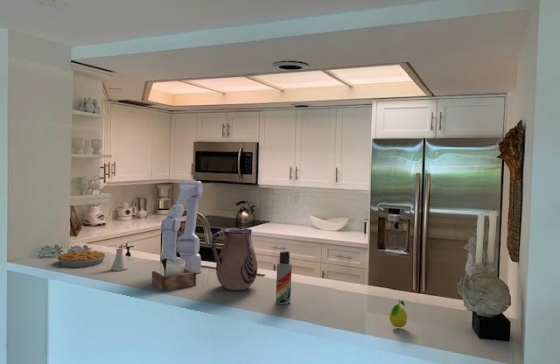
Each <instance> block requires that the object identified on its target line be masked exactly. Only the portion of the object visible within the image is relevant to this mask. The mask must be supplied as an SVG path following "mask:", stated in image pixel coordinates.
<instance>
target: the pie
mask: <svg viewBox="0 0 560 364" xmlns="http://www.w3.org/2000/svg"><path fill="white" fill-rule="evenodd" d="M105 258H106V254H105V253H104V252H100V251H99V252H98V251H97V250H95V251H91V250H86V251H85V250H81V251H71V252H66V253H63V254H59V255H58V257H57V260H58V261H59V263H60V264H61V266H63V267H71V268H86V267H93V266H98V265H100V264H101V263H103V261H104V259H105Z"/></svg>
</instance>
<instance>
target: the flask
mask: <svg viewBox="0 0 560 364" xmlns="http://www.w3.org/2000/svg"><path fill="white" fill-rule="evenodd" d="M115 251H116V254H115V257H114V258H115V259H114V260H113V263H112V266H111V267H110V270H111V271H115V272H121V271H125V270H128V266H127V264H126V262H125V261H126V260H125V257H124V254H123V251H124V248H116V249H115Z"/></svg>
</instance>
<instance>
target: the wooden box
mask: <svg viewBox="0 0 560 364" xmlns="http://www.w3.org/2000/svg"><path fill="white" fill-rule="evenodd" d="M151 285H152V286H154V287H156V288H157V289H159V290H161V291H169V290H175V289H182V288H187V287H193V286H197V273H196V272H194V271H191V270H189V269H187V268H185V267H184V272H183V274H179V275H172V276H165V275H163V274H162V273H159V272H157V271H156V270H153V271H151Z"/></svg>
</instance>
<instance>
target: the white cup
mask: <svg viewBox="0 0 560 364" xmlns="http://www.w3.org/2000/svg"><path fill="white" fill-rule="evenodd" d="M177 258H178V263H173V262H172V261H170V260H169V259H168V260H167V262H166V274H164V276H172V275H179V274H183V272H184V267H185V261H184V260H183V259H180V257H177Z"/></svg>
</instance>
